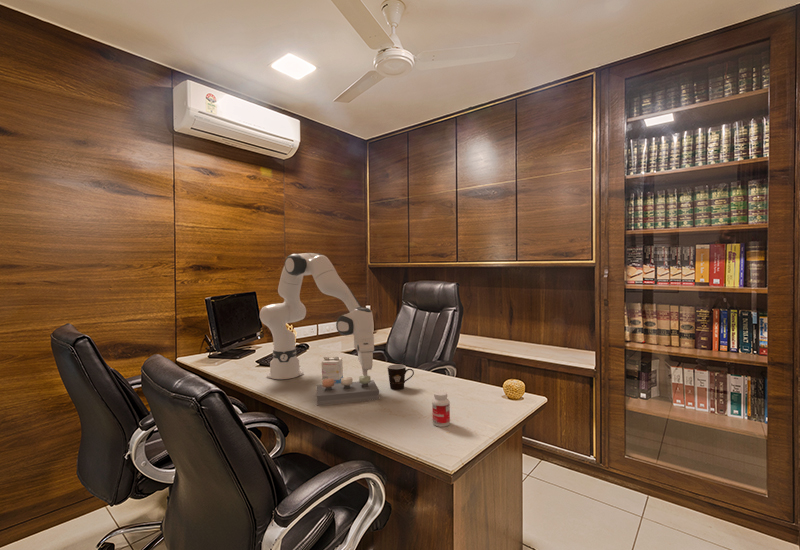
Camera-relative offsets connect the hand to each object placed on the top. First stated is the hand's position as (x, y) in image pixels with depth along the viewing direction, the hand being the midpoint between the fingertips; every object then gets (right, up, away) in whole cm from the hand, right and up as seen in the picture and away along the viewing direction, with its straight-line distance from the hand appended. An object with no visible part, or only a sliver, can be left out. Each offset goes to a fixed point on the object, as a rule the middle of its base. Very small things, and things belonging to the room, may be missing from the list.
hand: (364, 375), depth 165 cm
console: (-8, -9, -2) cm, 12 cm away
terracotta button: (-16, -6, -3) cm, 17 cm away
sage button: (0, -5, 0) cm, 5 cm away
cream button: (-8, -6, -2) cm, 10 cm away
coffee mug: (+16, -9, +8) cm, 20 cm away
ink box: (-18, -9, +19) cm, 28 cm away
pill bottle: (+30, -9, -32) cm, 45 cm away
